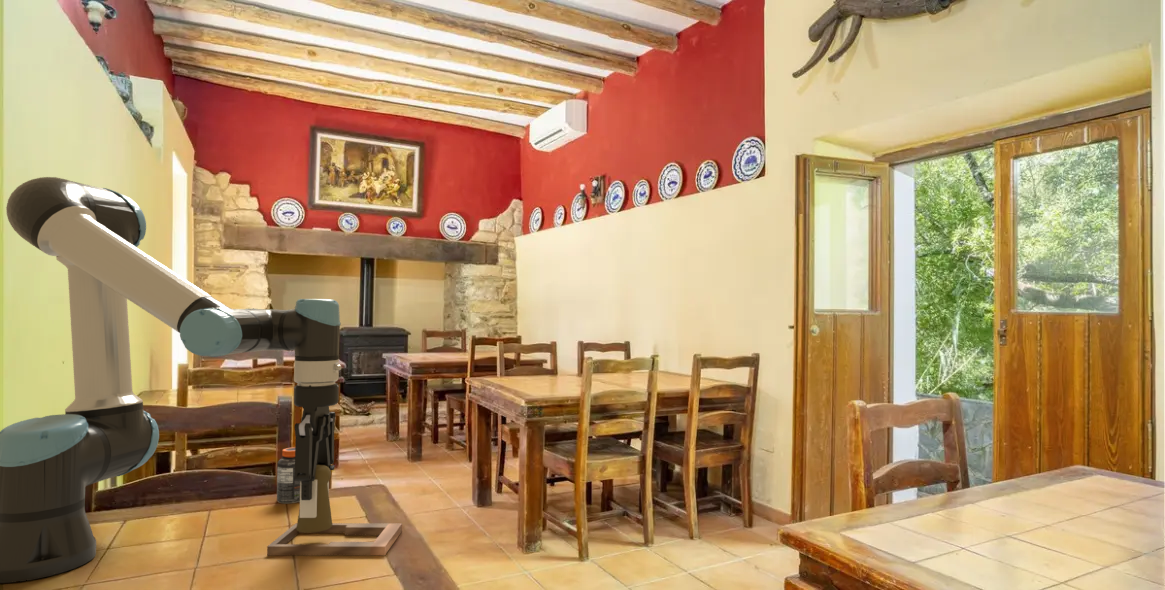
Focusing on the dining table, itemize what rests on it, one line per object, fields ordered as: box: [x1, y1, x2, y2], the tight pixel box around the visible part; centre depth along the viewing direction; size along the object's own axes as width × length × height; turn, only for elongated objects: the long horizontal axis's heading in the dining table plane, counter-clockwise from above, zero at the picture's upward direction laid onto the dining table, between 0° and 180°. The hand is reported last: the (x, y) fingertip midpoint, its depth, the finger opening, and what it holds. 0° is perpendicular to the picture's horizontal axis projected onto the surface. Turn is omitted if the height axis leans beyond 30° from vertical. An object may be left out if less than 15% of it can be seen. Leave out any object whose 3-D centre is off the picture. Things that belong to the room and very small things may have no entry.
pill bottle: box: [276, 446, 300, 504], centre depth 142 cm, size 6×6×11 cm
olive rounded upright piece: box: [296, 465, 333, 534], centre depth 116 cm, size 6×6×11 cm
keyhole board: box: [266, 522, 403, 556], centre depth 116 cm, size 20×12×2 cm, turn 92°
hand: (314, 511), depth 116 cm, fingers closed on olive rounded upright piece, 5 cm apart
